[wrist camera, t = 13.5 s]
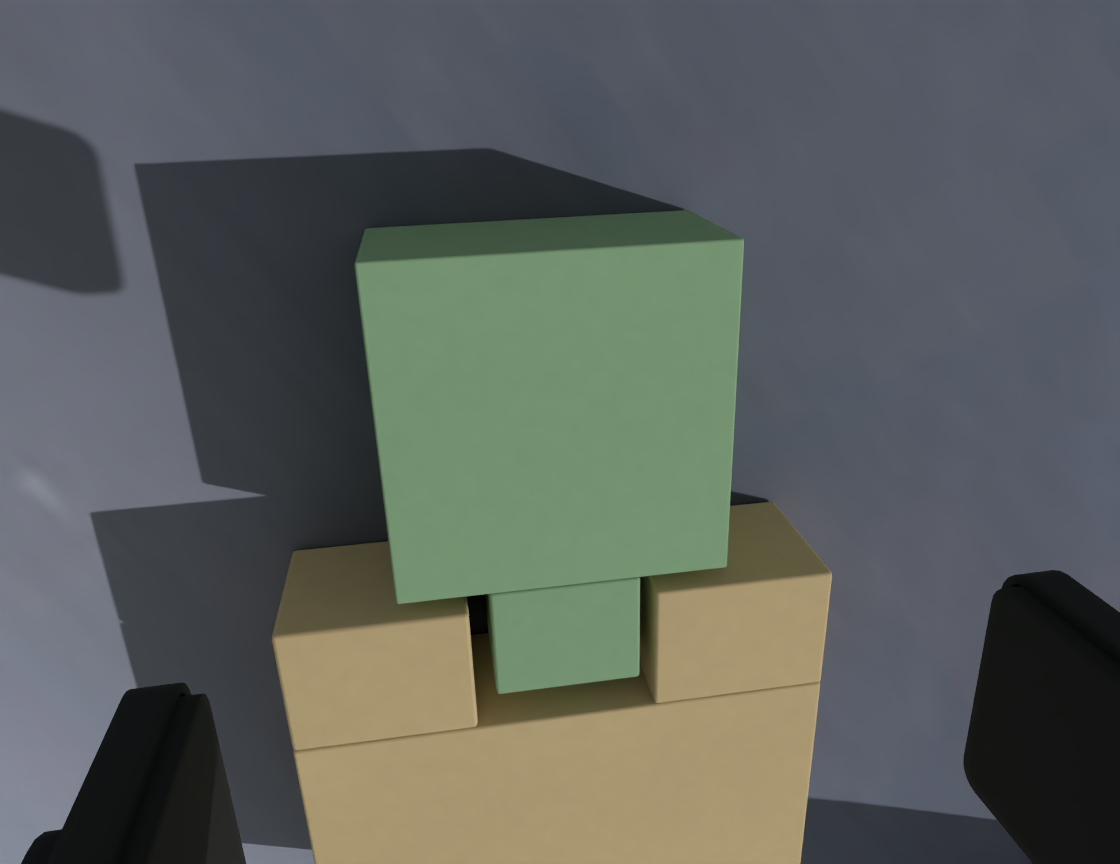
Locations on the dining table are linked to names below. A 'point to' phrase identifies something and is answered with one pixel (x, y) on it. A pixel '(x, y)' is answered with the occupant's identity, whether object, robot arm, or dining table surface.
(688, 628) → the tan flat block
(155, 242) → the dining table surface
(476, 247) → the green pad
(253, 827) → the dining table surface
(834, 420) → the dining table surface
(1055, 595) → the robot arm
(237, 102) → the dining table surface
